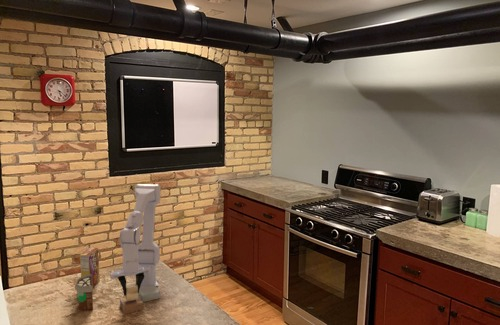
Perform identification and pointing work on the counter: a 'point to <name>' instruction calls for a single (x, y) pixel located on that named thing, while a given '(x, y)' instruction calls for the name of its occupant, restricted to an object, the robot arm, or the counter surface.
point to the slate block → (149, 293)
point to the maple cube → (131, 291)
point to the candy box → (90, 264)
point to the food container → (85, 292)
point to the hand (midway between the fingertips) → (131, 293)
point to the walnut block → (131, 305)
